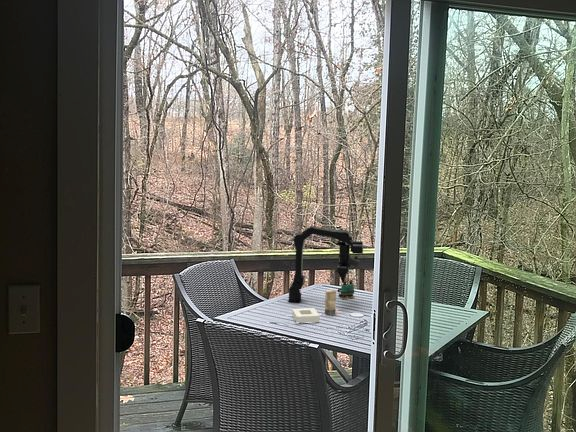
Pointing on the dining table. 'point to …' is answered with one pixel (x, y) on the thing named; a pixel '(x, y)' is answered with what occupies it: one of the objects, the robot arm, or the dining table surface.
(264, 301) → the dining table surface
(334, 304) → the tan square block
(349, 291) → the green boxy toy
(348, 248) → the robot arm
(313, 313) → the square ring frame
